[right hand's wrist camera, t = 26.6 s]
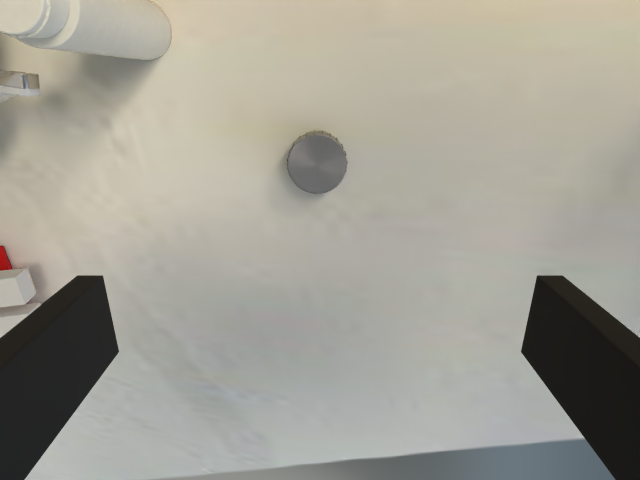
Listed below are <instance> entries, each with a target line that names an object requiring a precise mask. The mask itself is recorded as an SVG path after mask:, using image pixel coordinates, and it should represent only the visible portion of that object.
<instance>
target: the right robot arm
mask: <svg viewBox="0 0 640 480" xmlns="http://www.w3.org/2000/svg"><path fill="white" fill-rule="evenodd" d="M118 352H119V350H118V345H117V340H116V336H115V331H114V326H113V321H112V317H111V312H110V307H109V303H108V298H107V293H106V288H105V284H104V279H103V276H76V277H75V278H74V279H73V280H71V281H70V282H69V283H68V284H67V285H65V286H64V287H63V288H62V289H60V290H59V291H58V292H57V293H55V294H54V295H53V296H52V297H50V298H49V299H48V300H47V301H45V302H44V303H43V304H42V305H40V306H39V307H38V308H37V309H36V310H34V311H33V312H32V313H31V314H29V315H28V316H27V317H26V318H24V319H23V320H22V321H21V322H19V323H18V324H17V325H16V326H14V327H13V328H12V329H11V330H10V331H8V332H7V333H6V334H5V335H3V336H2V337H1V338H0V480H24V479H25V478H26V477H27V475H28V474H29V473H30V471H31V470H32V469H33V467H34V466H35V465H36V463H37V462H38V460H39V459H40V458H41V456H42V455H43V454H44V452H45V451H46V450H47V448H48V447H49V446H50V444H51V443H52V442H53V440H54V439H55V437H56V436H57V435H58V433H59V432H60V431H61V429H62V428H63V427H64V425H65V424H66V423H67V421H68V420H69V419H70V417H71V416H72V415H73V413H74V412H75V410H76V409H77V408H78V406H79V405H80V404H81V402H82V401H83V400H84V398H85V397H86V396H87V394H88V393H89V392H90V390H91V389H92V387H93V386H94V385H95V383H96V382H97V381H98V379H99V378H100V377H101V375H102V374H103V373H104V371H105V370H106V369H107V367H108V366H109V364H110V363H111V362H112V360H113V359H114V358H115V356H116V355H117V354H118ZM521 352H522V354H523V355H524V356H525V358H526V359H527V360H528V362H529V363H530V364H531V366H532V367H533V369H534V370H535V371H536V373H537V374H538V375H539V377H540V378H541V379H542V381H543V382H544V383H545V385H546V386H547V387H548V389H549V390H550V392H551V393H552V394H553V396H554V397H555V398H556V400H557V401H558V402H559V404H560V405H561V406H562V408H563V409H564V410H565V412H566V413H567V415H568V416H569V417H570V419H571V420H572V421H573V423H574V424H575V425H576V427H577V428H578V429H579V431H580V432H581V433H582V435H583V436H584V437H585V439H586V440H587V442H588V443H589V444H590V446H591V447H592V448H593V450H594V451H595V452H596V454H597V455H598V456H599V458H600V459H601V460H602V462H603V463H604V464H605V466H606V467H607V468H608V470H609V471H610V473H611V474H612V475H613V477H614V478H615V479H616V480H640V338H639V337H638V336H637V335H635V334H634V333H633V332H632V331H630V330H629V329H628V328H627V327H626V326H624V325H623V324H622V323H621V322H619V321H618V320H617V319H616V318H614V317H613V316H612V315H611V314H609V313H608V312H607V311H606V310H604V309H603V308H602V307H601V306H600V305H598V304H597V303H596V302H595V301H593V300H592V299H591V298H590V297H588V296H587V295H586V294H585V293H583V292H582V291H581V290H580V289H578V288H577V287H576V286H575V285H573V284H572V283H571V282H570V281H569V280H567V279H566V278H565V277H564V276H537V279H536V284H535V288H534V293H533V298H532V303H531V307H530V312H529V317H528V321H527V326H526V331H525V336H524V340H523V345H522V350H521Z"/></svg>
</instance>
